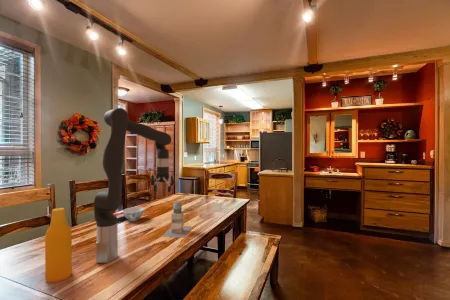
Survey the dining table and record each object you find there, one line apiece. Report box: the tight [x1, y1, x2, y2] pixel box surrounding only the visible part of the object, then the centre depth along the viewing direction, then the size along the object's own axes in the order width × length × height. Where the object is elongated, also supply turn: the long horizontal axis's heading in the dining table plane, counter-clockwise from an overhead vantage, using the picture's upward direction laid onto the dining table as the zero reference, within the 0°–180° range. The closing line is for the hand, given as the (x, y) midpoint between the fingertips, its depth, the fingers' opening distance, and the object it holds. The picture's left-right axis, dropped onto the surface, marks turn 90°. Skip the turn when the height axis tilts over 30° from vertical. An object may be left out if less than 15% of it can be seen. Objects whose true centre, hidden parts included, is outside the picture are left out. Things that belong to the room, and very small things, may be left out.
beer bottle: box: [44, 207, 73, 284], centre depth 97 cm, size 9×9×29 cm
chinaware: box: [122, 206, 145, 222], centre depth 173 cm, size 15×15×8 cm
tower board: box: [161, 225, 193, 239], centre depth 146 cm, size 19×14×2 cm
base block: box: [171, 220, 185, 233], centre depth 146 cm, size 6×6×6 cm
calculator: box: [112, 211, 128, 224], centre depth 174 cm, size 11×4×15 cm
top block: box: [171, 210, 185, 224], centre depth 146 cm, size 6×6×6 cm
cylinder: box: [173, 201, 183, 214], centre depth 146 cm, size 5×5×6 cm
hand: (162, 192), depth 142 cm, fingers open, 8 cm apart
